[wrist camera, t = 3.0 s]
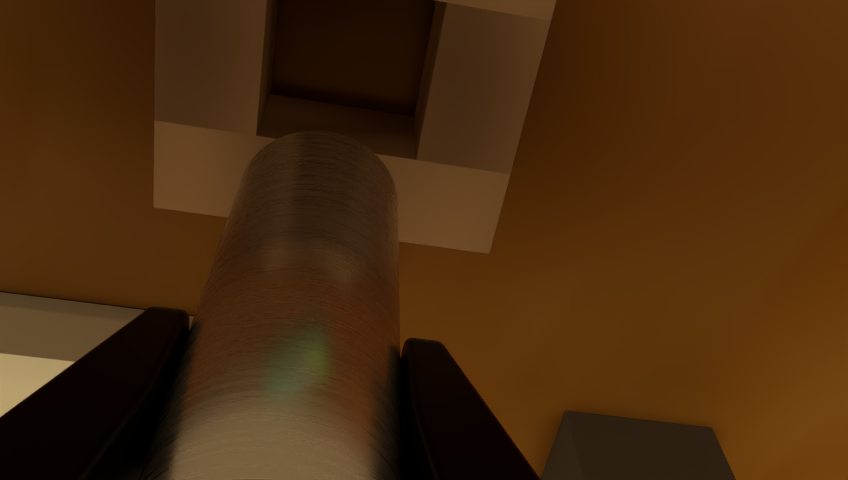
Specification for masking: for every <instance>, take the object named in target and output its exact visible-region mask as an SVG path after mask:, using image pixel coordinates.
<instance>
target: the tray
mask: <svg viewBox="0 0 848 480" xmlns="http://www.w3.org/2000/svg"><path fill="white" fill-rule="evenodd" d="M144 311H145V310H141V309H133V308H125V307H117V306H108V305H100V304H92V303H84V302H76V301H68V300H60V299H52V298H44V297H36V296H28V295H20V294H11V293H3V292H0V417H1V416H2V415H4V414H5V413H6V412H8V411H9V410H10V409H12V408H13V407H15V406H16V405H17V404H19V403H20V402H21V401H23V400H24V399H25V398H27V397H28V396H29V395H31V394H32V393H34V392H35V391H36V390H38V389H39V388H40V387H42V386H43V385H44V384H46V383H47V382H49V381H50V380H51V379H53V378H54V377H55V376H57V375H58V374H59V373H61V372H62V371H64V370H65V369H66V368H68V367H69V366H70V365H72V364H73V363H74V362H76V361H77V360H78V359H80V358H81V357H83V356H84V355H85V354H87V353H88V352H89V351H91V350H92V349H93V348H95V347H96V346H98V345H99V344H100V343H102V342H103V341H104V340H106V339H107V338H108V337H110V336H111V335H113V334H114V333H115V332H117V331H118V330H119V329H121V328H122V327H123V326H125V325H126V324H128V323H129V322H130V321H132V320H133V319H134V318H136V317H137V316H138V315H140V314H141V313H142V312H144ZM193 318H194V316H189V319H190V327H191V324H192V321H193ZM190 327H189V330H190Z"/></svg>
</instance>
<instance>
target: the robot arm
mask: <svg viewBox="0 0 848 480" xmlns="http://www.w3.org/2000/svg"><path fill="white" fill-rule="evenodd" d="M189 327H190V319H189V315H188V313H187V312H186V311H185V310H180V309H172V308H164V307H151V308H148V309H147V310H145V311H144V312H142V313H141V314H140V315H138V316H137V317H136V318H134V319H133V320H132V321H130V322H129V323H128V324H126V325H125V326H123V327H122V328H121V329H119V330H118V331H117V332H115V333H114V334H113V335H111V336H110V337H108V338H107V339H106V340H104V341H103V342H102V343H100V344H99V345H98V346H96V347H95V348H93V349H92V350H91V351H89V352H88V353H87V354H85V355H84V356H83V357H81V358H80V359H78V360H77V361H76V362H74V363H73V364H72V365H70V366H69V367H68V368H66V369H65V370H64V371H62V372H61V373H59V374H58V375H57V376H55V377H54V378H53V379H51V380H50V381H49V382H47V383H46V384H44V385H43V386H42V387H40V388H39V389H38V390H36V391H35V392H34V393H32V394H31V395H29V396H28V397H27V398H25V399H24V400H23V401H21V402H20V403H19V404H17V405H16V406H15V407H13V408H12V409H10V410H9V411H8V412H6V413H5V414H4V415H2V416H1V417H0V480H138V478H139V475H140V472H141V469H142V467H143V464H144V461H145V458H146V455H147V452H148V449H149V446H150V443H151V440H152V437H153V435H154V432H155V429H156V426H157V423H158V420H159V417H160V414H161V411H162V408H163V405H164V402H165V400H166V397H167V394H168V391H169V388H170V385H171V382H172V379H173V376H174V373H175V370H176V368H177V365H178V362H179V359H180V356H181V353H182V350H183V347H184V344H185V341H186V338H187V335H188V333H189ZM400 369H401V434H402V480H541V479H540V478H539V477H538V475H537V474H536V472H535V471H534V470H533V468H532V467H531V466H530V464H529V463H528V461H527V460H526V459H525V457H524V456H523V454H522V453H521V452H520V450H519V449H518V448H517V446H516V445H515V443H514V442H513V441H512V439H511V438H510V436H509V435H508V434H507V432H506V431H505V429H504V428H503V427H502V425H501V424H500V423H499V421H498V420H497V418H496V417H495V416H494V414H493V413H492V411H491V410H490V409H489V407H488V406H487V405H486V403H485V402H484V400H483V399H482V398H481V396H480V395H479V393H478V392H477V391H476V389H475V388H474V386H473V385H472V384H471V382H470V381H469V380H468V378H467V377H466V375H465V374H464V373H463V371H462V370H461V368H460V367H459V366H458V364H457V363H456V362H455V360H454V359H453V357H452V356H451V355H450V353H449V352H448V350H447V349H446V348H445V346H444V345H443V344H442V343H441V342H439V341H435V340H426V339H418V338H409V339H407V340H406V341H405V343H404V346H403V350H402V354H401V359H400Z"/></svg>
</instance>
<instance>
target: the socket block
mask: <svg viewBox="0 0 848 480" xmlns="http://www.w3.org/2000/svg"><path fill="white" fill-rule="evenodd" d="M435 1H436V2H435V8H434V13H433V18H432V24H431V29H430V34H429V40H428V45H427V50H426V56H425V61H424V66H423V72H422V77H421V82H420V87H419V93H418V98H417V103H416V109H415V114H414V117H413V116H407V115H401V114H394V113H388V112H382V111H375V110H369V109H363V108H356V107H350V106H344V105H337V104H331V103H325V102H318V101H312V100H306V99H299V98H293V97H287V96H280V95H274V94H271V87H272V75H273V64H274V52H275V41H276V30H277V18H278V7H279V0H155V90H154V202H153V207H155V208H162V209H169V210H176V211H183V212H191V213H198V214H205V215H212V216H219V217H227V218H228V216H229V213H230V210H231V207H232V204H233V201H234V199H235V196H236V193H237V190H238V187H239V184H240V181H241V178H242V175H243V173H244V171H245V169H246V167H247V165H248V164H249V162H250V161H251V159H252V158H253V157H254V156H255V155H256V154H257V153H258V152H259V151H260V150H261V149H262V148H264V147H265V146H266V145H267V144H269V143H271V142H272V141H274V140H276V139H278V138H281V137H283V136H285V135H289V134H292V133H296V132H303V131H327V132H332V133H337V134H341V135H344V136H346V137H349V138H351V139H353V140H356V141H358V142H360V143H361V144H363V145H364V146H366V147H367V148H369V149H370V150H371V151H372V152H373V153H375V154H376V155H377V156H378V157H379V158H380V160H381V161H382V162H383V163H384V165H385V166H386V167H387V169H388V170H389V172H390V174H391V176H392V178H393V181H394V184H395V186H396V191H397V196H398V241H400V242H407V243H414V244H421V245H429V246H436V247H443V248H450V249H457V250H465V251H472V252H479V253H486V254H489V253H490V249H491V246H492V242H493V238H494V234H495V231H496V227H497V223H498V219H499V216H500V212H501V208H502V204H503V200H504V197H505V193H506V189H507V185H508V182H509V178H510V174H511V170H512V167H513V163H514V159H515V155H516V151H517V148H518V144H519V140H520V136H521V133H522V129H523V125H524V121H525V117H526V114H527V110H528V106H529V102H530V99H531V95H532V91H533V87H534V84H535V80H536V76H537V72H538V68H539V65H540V61H541V57H542V53H543V50H544V46H545V42H546V38H547V35H548V31H549V27H550V23H551V19H552V16H553V12H554V8H555V4H556V1H557V0H435Z"/></svg>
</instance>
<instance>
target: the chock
mask: <svg viewBox="0 0 848 480" xmlns="http://www.w3.org/2000/svg"><path fill="white" fill-rule="evenodd" d="M541 480H736V479H735V477H734V475H733V473H732V471H731V468H730V466H729V464H728V462H727V460H726V458H725V455H724V453H723V451H722V449H721V447H720V445H719V442H718V440H717V438H716V436H715V434H714V432H713V429H712V428H709V427H701V426H692V425H683V424H675V423H666V422H657V421H649V420H640V419H631V418H623V417H614V416H605V415H597V414H588V413H579V412H571V411H565V413H564V416H563V419H562V422H561V424H560V427H559V430H558V432H557V435H556V438H555V441H554V443H553V446H552V449H551V452H550V454H549V457H548V460H547V463H546V465H545V468H544V471H543V473H542V476H541Z"/></svg>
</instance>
